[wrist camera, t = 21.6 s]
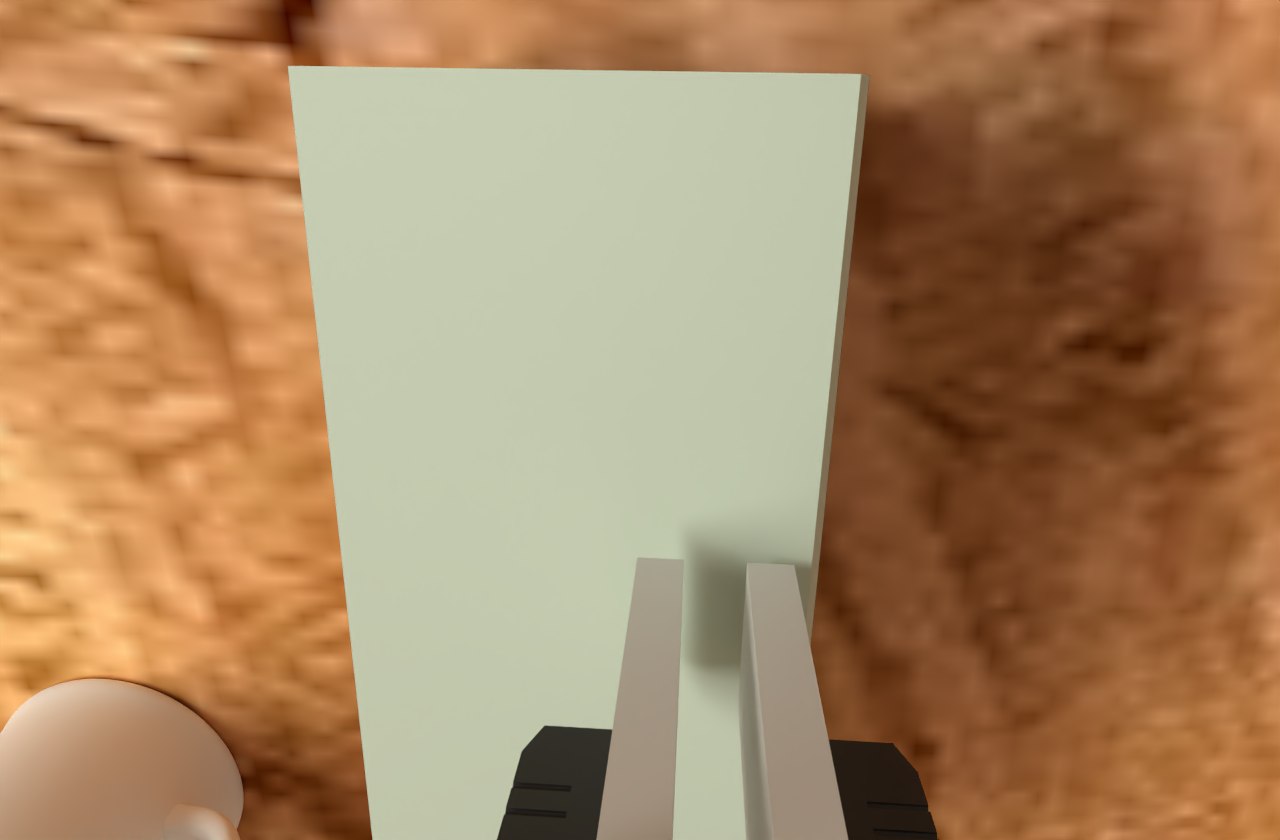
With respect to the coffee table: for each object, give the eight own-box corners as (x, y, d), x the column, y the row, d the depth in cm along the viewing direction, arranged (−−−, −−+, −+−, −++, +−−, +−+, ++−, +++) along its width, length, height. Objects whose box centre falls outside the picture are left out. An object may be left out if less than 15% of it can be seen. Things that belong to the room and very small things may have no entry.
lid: (316, 67, 16) (208, 63, 14) (874, 75, 13) (846, 71, 11) (409, 1005, 25) (351, 1093, 23) (760, 1160, 21) (731, 1280, 19)
